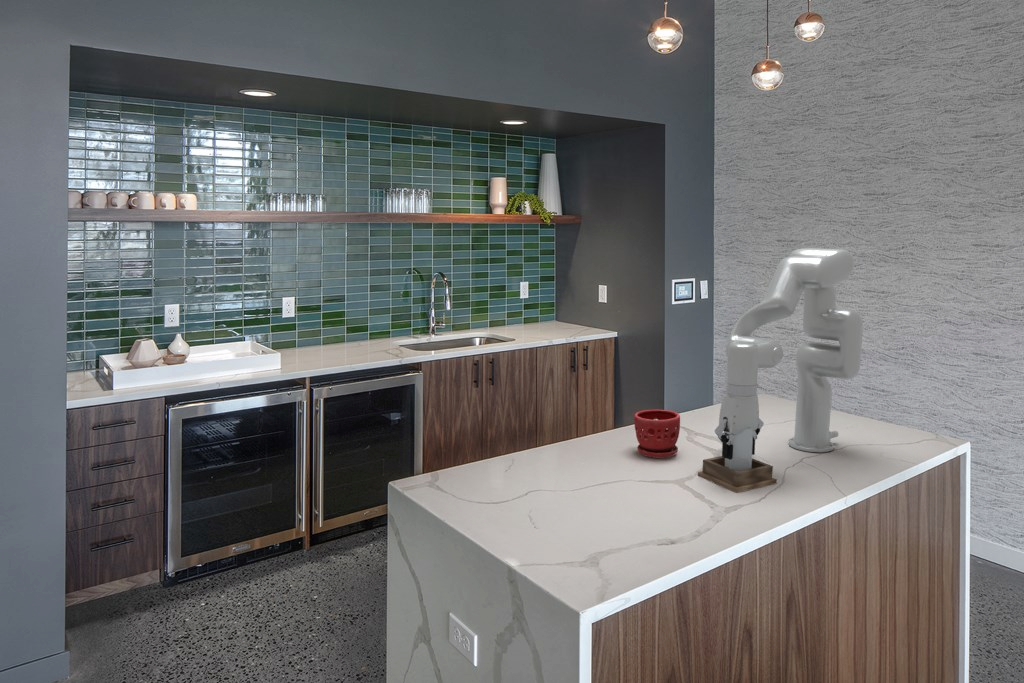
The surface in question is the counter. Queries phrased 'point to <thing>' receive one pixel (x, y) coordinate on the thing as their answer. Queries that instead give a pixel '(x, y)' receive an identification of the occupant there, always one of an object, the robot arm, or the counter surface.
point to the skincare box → (741, 451)
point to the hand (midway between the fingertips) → (738, 455)
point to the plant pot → (657, 432)
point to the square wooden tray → (737, 475)
